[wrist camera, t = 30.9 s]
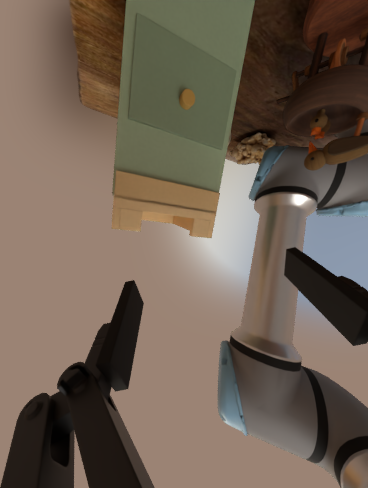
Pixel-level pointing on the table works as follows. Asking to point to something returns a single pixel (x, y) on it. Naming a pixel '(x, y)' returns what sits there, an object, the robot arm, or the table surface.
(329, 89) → the music box
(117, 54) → the table surface
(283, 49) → the table surface
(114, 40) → the table surface
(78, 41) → the table surface
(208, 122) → the drawer stand
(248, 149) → the mineral formation
